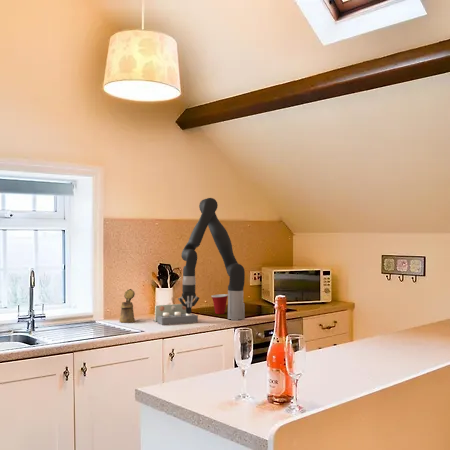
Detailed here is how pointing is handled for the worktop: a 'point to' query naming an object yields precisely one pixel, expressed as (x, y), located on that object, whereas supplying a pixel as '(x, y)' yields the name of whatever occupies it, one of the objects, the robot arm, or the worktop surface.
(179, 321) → the button board
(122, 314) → the brown tapered piece
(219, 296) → the plastic cup
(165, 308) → the pattern card
